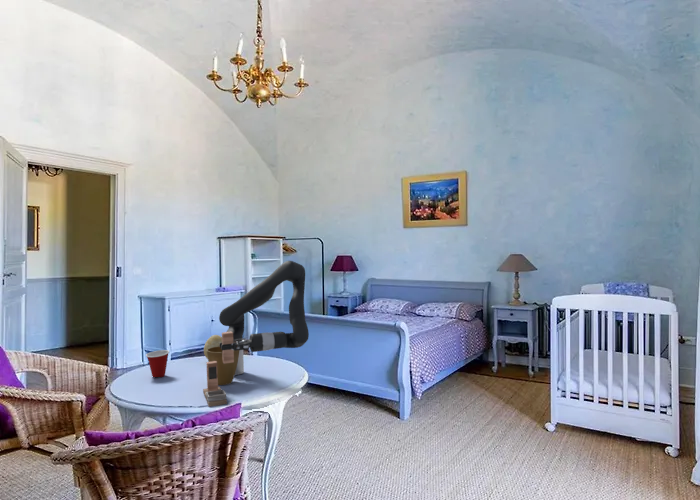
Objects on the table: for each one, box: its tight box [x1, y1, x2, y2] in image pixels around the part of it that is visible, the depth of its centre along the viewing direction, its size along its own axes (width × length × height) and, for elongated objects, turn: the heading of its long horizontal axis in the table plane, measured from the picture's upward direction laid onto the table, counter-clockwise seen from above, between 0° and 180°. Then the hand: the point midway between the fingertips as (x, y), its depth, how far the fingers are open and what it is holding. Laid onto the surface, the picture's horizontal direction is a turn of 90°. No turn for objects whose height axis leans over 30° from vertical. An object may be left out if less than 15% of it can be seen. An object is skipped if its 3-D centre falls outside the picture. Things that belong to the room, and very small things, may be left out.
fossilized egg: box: [203, 334, 222, 360], centre depth 257 cm, size 13×13×15 cm
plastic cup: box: [145, 349, 170, 378], centre depth 230 cm, size 11×11×12 cm
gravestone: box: [202, 361, 228, 408], centre depth 192 cm, size 21×7×14 cm, turn 23°
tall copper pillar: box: [221, 331, 234, 363], centre depth 190 cm, size 4×4×12 cm
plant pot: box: [207, 346, 240, 386], centre depth 214 cm, size 15×15×16 cm
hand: (220, 346), depth 189 cm, fingers closed on tall copper pillar, 4 cm apart
